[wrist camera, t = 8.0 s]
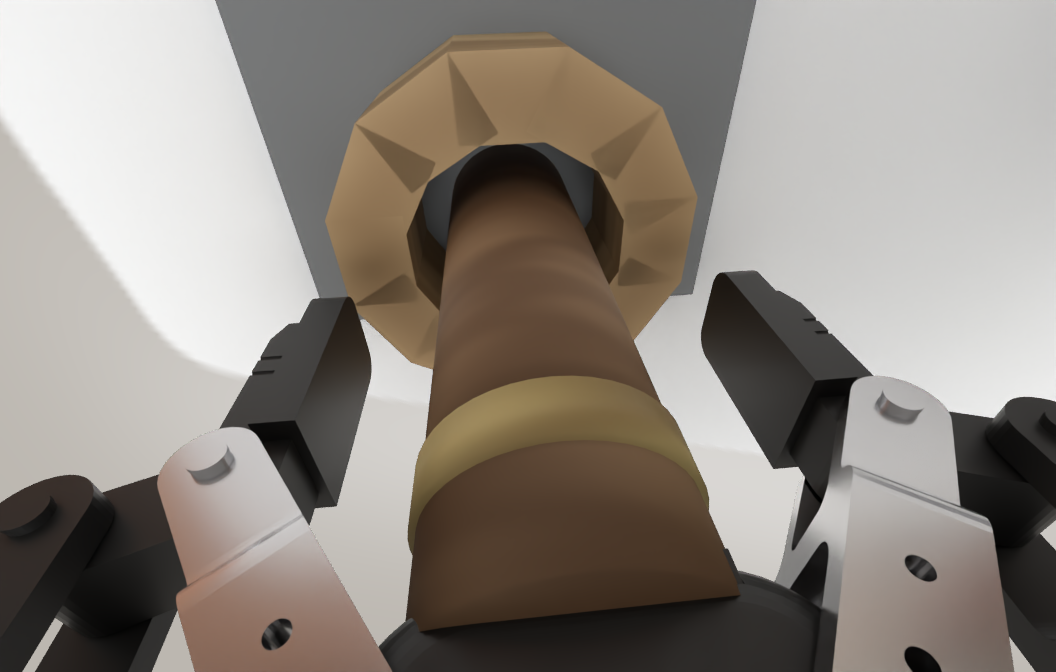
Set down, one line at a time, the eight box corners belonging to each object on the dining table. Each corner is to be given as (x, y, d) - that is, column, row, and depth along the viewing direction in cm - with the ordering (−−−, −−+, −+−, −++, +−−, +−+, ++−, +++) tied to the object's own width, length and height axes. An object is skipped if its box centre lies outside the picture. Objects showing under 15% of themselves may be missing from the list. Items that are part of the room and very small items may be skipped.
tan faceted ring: (669, 26, 14) (728, 39, 11) (632, 308, 20) (663, 370, 17) (322, 40, 13) (275, 59, 10) (394, 327, 19) (378, 395, 16)
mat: (817, -331, 10) (831, -343, 10) (688, 287, 20) (692, 294, 20) (108, -335, 9) (93, -348, 9) (331, 315, 19) (328, 322, 19)
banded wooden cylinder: (570, 136, 15) (818, 542, 4) (567, 252, 18) (717, 695, 7) (441, 143, 15) (345, 590, 4) (457, 259, 18) (424, 731, 7)
